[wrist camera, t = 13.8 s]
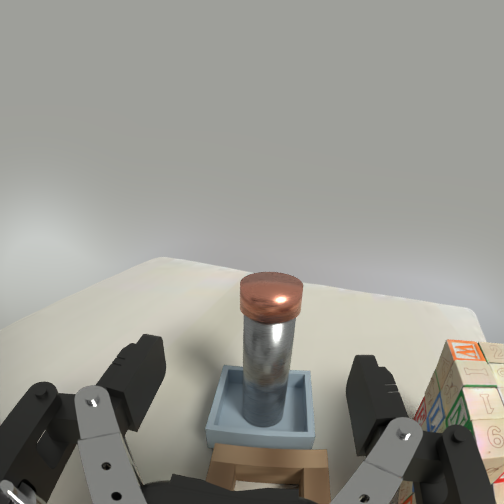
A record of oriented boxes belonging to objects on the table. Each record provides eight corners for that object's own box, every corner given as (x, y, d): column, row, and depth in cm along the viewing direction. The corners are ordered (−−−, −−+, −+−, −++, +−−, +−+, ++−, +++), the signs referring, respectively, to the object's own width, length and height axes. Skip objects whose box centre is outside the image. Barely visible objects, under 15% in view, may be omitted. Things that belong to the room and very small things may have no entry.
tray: (207, 447, 23) (205, 428, 22) (224, 384, 32) (223, 365, 31) (309, 455, 22) (315, 437, 21) (306, 390, 31) (310, 370, 30)
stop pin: (236, 427, 24) (236, 294, 20) (242, 395, 29) (244, 270, 25) (286, 431, 24) (304, 299, 20) (286, 398, 28) (301, 273, 24)
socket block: (196, 545, 13) (191, 536, 12) (217, 460, 21) (215, 442, 21) (322, 553, 12) (332, 544, 11) (320, 466, 21) (326, 449, 20)
